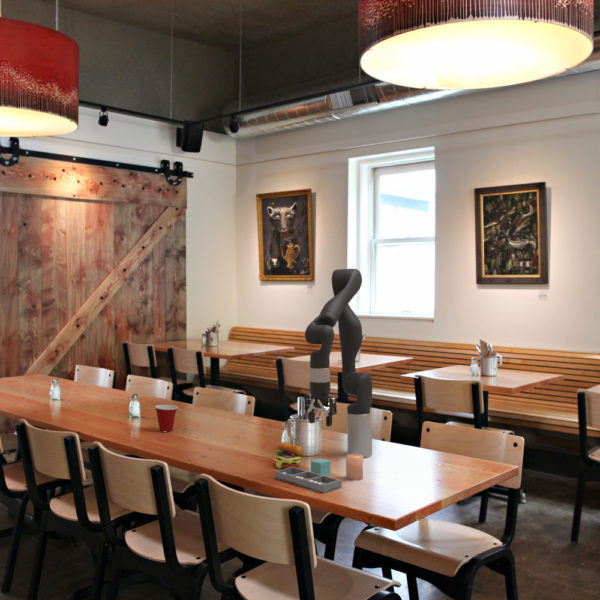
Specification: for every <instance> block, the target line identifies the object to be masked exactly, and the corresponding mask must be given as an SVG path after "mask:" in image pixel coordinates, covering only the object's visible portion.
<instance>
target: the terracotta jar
mask: <svg viewBox="0 0 600 600" xmlns="http://www.w3.org/2000/svg"><path fill="white" fill-rule="evenodd" d="M345 478H347V479H346V480H348V481H353V480H357V481H362V480H363V479H364V458H363V455H361V454H348V455H347V454H346V455H345Z"/></svg>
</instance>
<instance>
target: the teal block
mask: <svg viewBox="0 0 600 600" xmlns="http://www.w3.org/2000/svg"><path fill="white" fill-rule="evenodd" d="M310 472H314V473H318V474H321V475H325V476H329V475H331V460H329V459H325V458H316V459H313V460H310Z"/></svg>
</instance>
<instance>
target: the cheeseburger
mask: <svg viewBox="0 0 600 600" xmlns="http://www.w3.org/2000/svg"><path fill="white" fill-rule="evenodd" d="M278 448H279V450H281V451H276V452H275V454H276V455H275V458H274V464H275V467H276V468H277V469H279V470H281V469H286V468H290V467H296V468H299V466H300V463H301V459H302V456H303V455H304V454H303V453H304V452H303V447H301V446H299V445H297V444H294V445H293V444H292V443H291V442H287V441H284V442H282V443H281V444H280V446H279V447H278Z"/></svg>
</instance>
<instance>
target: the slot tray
mask: <svg viewBox="0 0 600 600" xmlns="http://www.w3.org/2000/svg"><path fill="white" fill-rule="evenodd" d="M274 475H275V476H274V478H275V480H279V481H283V482H286V483H288V484H292V485H296V486H298V487H299V486H300V487H303V488H305V489H309V490H312V491H315V492H319V493H321V492H323V493H322V494H325V492H326V493H329V492H332V491H335V489H336V490H339V489H341V488H342V484H343V481H342V479H338V478H335V477H331V476H329V475H326V476H325V475H321V474H318V473H314V472H311V470H306V469H303V468H300V467H290V468H281V469H279V470H275V472H274ZM338 488H339V489H338Z"/></svg>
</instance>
